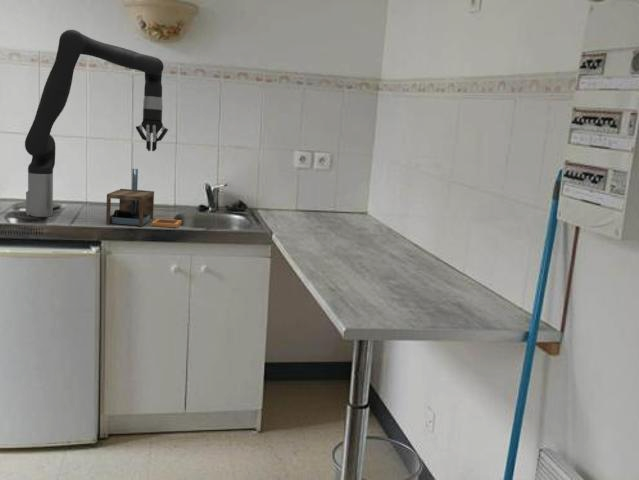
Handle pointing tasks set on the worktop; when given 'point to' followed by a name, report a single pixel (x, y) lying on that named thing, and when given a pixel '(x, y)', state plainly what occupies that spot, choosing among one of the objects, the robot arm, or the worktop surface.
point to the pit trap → (166, 223)
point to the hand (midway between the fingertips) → (151, 150)
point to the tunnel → (126, 196)
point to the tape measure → (122, 214)
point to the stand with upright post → (133, 207)
